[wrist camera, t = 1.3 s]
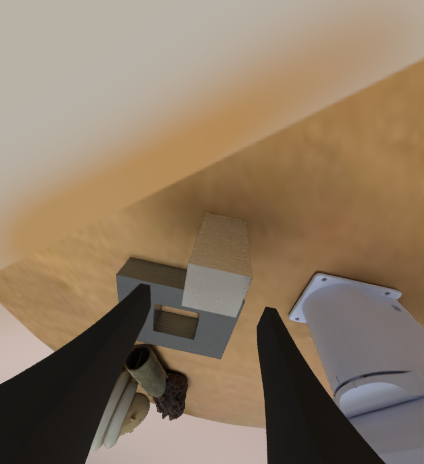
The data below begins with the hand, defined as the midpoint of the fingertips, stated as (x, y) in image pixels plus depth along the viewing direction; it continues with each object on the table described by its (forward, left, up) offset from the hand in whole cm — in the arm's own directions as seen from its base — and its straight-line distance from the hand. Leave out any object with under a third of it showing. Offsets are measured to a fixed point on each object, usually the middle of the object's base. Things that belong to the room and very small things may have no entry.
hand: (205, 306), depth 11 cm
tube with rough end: (+3, +32, -9) cm, 34 cm away
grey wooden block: (0, 0, -9) cm, 9 cm away
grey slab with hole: (+3, +12, -9) cm, 15 cm away
